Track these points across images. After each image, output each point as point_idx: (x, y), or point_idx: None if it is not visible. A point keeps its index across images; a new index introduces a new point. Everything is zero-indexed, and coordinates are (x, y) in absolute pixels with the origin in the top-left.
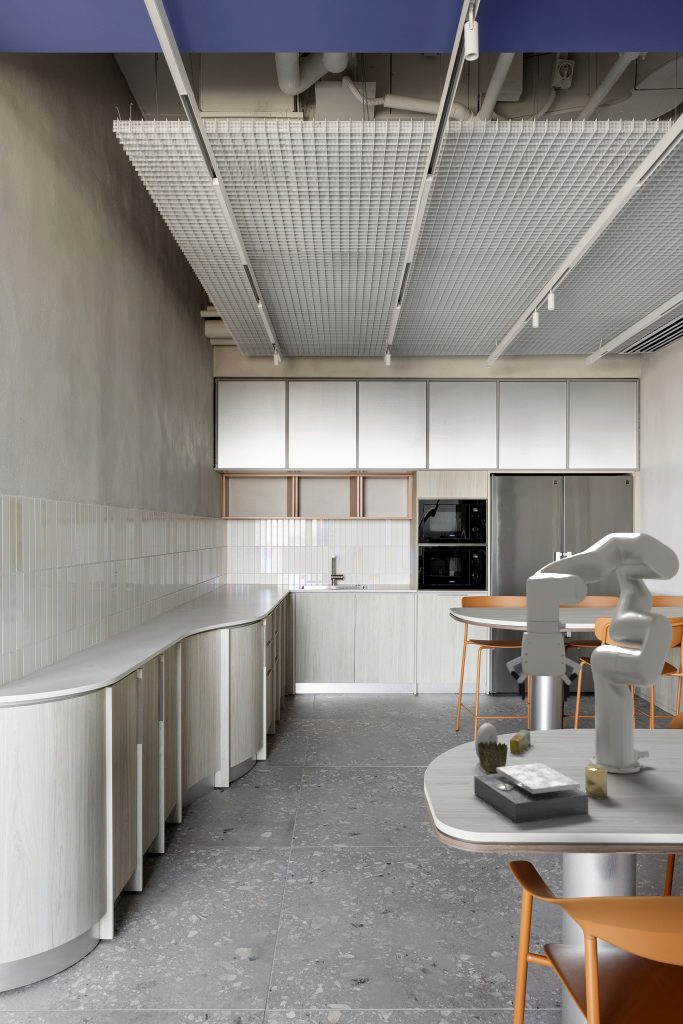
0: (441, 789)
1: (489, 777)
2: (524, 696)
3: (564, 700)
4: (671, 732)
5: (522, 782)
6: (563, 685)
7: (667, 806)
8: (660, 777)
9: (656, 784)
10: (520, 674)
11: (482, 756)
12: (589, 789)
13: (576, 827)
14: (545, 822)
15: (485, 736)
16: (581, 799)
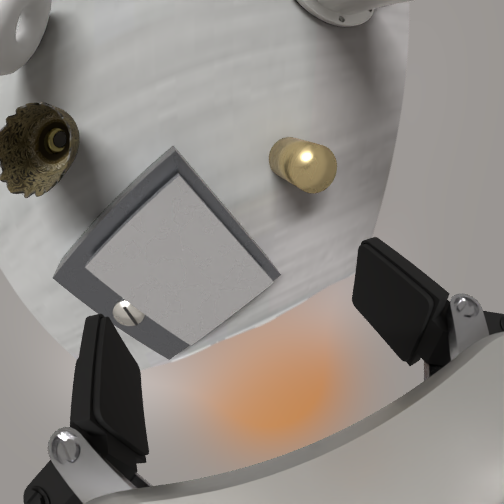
0: (12, 265)
1: (79, 271)
2: (137, 384)
3: (356, 304)
4: None
5: (166, 326)
6: (407, 350)
7: (381, 176)
8: (393, 40)
9: (386, 75)
10: (88, 493)
11: (24, 182)
12: (281, 177)
13: (248, 313)
14: None
15: (2, 57)
16: None
